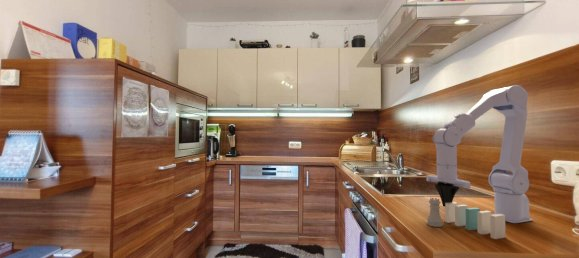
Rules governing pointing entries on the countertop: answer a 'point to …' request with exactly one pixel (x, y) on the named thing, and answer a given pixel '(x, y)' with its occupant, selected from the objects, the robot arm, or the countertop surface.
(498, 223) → the domino
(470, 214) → the domino
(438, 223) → the rook chess piece
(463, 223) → the domino
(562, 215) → the countertop surface
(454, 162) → the robot arm
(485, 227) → the domino
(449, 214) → the domino
